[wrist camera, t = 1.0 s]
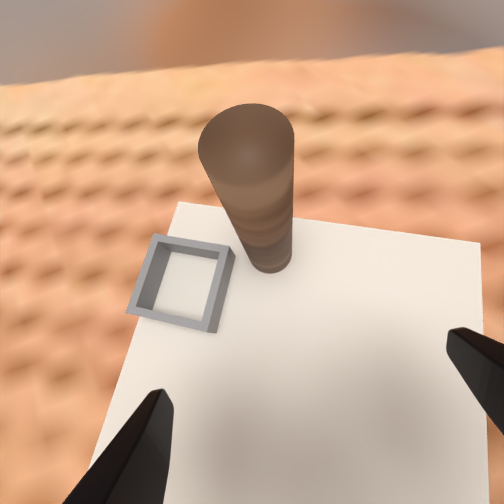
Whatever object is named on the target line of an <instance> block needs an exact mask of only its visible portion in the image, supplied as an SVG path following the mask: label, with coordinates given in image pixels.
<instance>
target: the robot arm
mask: <svg viewBox="0 0 504 504" xmlns="http://www.w3.org/2000/svg"><path fill="white" fill-rule="evenodd" d="M446 352H447V354H448V356H449V358H450V360H451V361H452V363H453V364H454V366H455V367H456V369H457V370H458V372H459V373H460V375H461V376H462V378H463V379H464V381H465V383H466V384H467V386H468V387H469V389H470V390H471V392H472V393H473V395H474V396H475V398H476V399H477V401H478V402H479V404H480V405H481V407H482V408H483V409H484V411H485V412H486V413H487V414H488V416H489V417H490V418H491V420H492V421H493V422H494V423H495V425H496V426H497V427H498V428H499V430H500V431H501V432H502V434H503V435H504V344H502V343H500V342H498V341H496V340H493V339H491V338H489V337H487V336H484V335H482V334H480V333H477V332H475V331H473V330H471V329H468V328H466V327H458V328H453V329H450V330H449V331H448V334H447V343H446ZM173 419H174V406H173V403H172V401H171V399H170V397H169V396H168V394H167V392H166V391H165V389H163V388H161V389H156V390H152V391H150V392H149V393H148V395H147V396H146V397H145V398H144V400H143V401H142V402H141V403H140V405H139V406H138V407H137V409H136V410H135V411H134V412H133V414H132V415H131V416H130V418H129V419H128V420H127V421H126V423H125V424H124V425H123V426H122V428H121V429H120V430H119V432H118V433H117V434H116V435H115V437H114V438H113V439H112V441H111V442H110V443H109V444H108V446H107V447H106V448H105V449H104V451H103V452H102V453H101V455H100V456H99V457H98V458H97V460H96V461H95V462H94V464H93V465H92V466H91V467H90V469H89V470H88V471H87V472H86V474H85V475H84V476H83V478H82V479H81V480H80V481H79V483H78V484H77V485H76V487H75V488H74V489H73V490H72V492H71V493H70V494H69V495H68V497H67V498H66V499H65V501H64V502H63V503H62V504H163V502H164V496H165V490H166V484H167V478H168V472H169V466H170V456H171V444H172V431H173Z"/></svg>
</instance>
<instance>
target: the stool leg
mask: <svg viewBox="0 0 504 504" xmlns="http://www.w3.org/2000/svg"><path fill="white" fill-rule="evenodd" d="M198 154H199V158H200V161H201V163H202V165H203V167H204V169H205V171H206V173H207V175H208V177H209V179H210V181H211V183H212V185H213V187H214V189H215V191H216V193H217V195H218V197H219V199H220V201H221V203H222V205H223V207H224V209H225V211H226V213H227V215H228V217H229V219H230V221H231V223H232V225H233V227H234V229H235V232H236V234H237V236H238V238H239V240H240V242H241V244H242V246H243V248H244V250H245V252H246V254H247V256H248V258H249V260H250V262H251V264H252V265H253V266H254V267H255V268H256V269H257V270H258V271H260V272H263V273H267V274H272V273H277V272H280V271H281V270H283V269H284V268H285V267H286V266H287V265H288V264H289V262H290V260H291V257H292V226H293V178H294V132H293V128H292V125H291V123H290V122H289V120H288V119H287V118H286V116H284V115H283V114H282V113H281V112H280V111H278V110H276V109H274V108H272V107H270V106H267V105H262V104H242V105H237V106H234V107H231V108H229V109H226V110H224V111H223V112H221V113H219V114H218V115H216V116H215V117H214V118H213V119H212V120H211V121H210V122H209V123H208V124H207V125H206V127H205V128H204V130H203V131H202V133H201V136H200V139H199V143H198Z"/></svg>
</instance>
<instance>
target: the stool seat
mask: <svg viewBox="0 0 504 504" xmlns="http://www.w3.org/2000/svg"><path fill="white" fill-rule="evenodd" d="M126 313H128V314H132V315H137V316H140V317H139V320H138V323H137V326H136V329H135V332H134V335H133V338H132V341H131V344H130V347H129V350H128V353H127V356H126V359H125V362H124V365H123V368H122V371H121V374H120V377H119V380H118V383H117V386H116V389H115V391H114V394H113V397H112V400H111V403H110V406H109V409H108V412H107V415H106V418H105V421H104V424H103V427H102V430H101V433H100V436H99V439H98V442H97V445H96V448H95V451H94V454H93V457H92V460H91V463H90V466H89V469H90V467H91V466H92V465H93V464H94V462H95V461H96V460H97V458H98V457H99V456H100V455H101V453H102V452H103V451H104V449H105V448H106V447H107V446H108V444H109V443H110V442H111V441H112V439H113V438H114V437H115V435H116V434H117V433H118V432H119V430H120V429H121V428H122V426H123V425H124V424H125V423H126V421H127V420H128V419H129V418H130V416H131V415H132V414H133V412H134V411H135V410H136V409H137V407H138V406H139V405H140V403H141V402H142V401H143V400H144V398H145V397H146V396H147V395H148V393H149V392H150V391H152V390H156V389H161V388H163V389H165V391H166V392H167V394H168V396H169V397H170V399H171V401H172V403H173V406H174V419H173V431H172V444H171V456H170V466H169V472H168V478H167V484H166V490H165V496H164V502H163V504H489V477H488V449H487V421H486V412H485V411H484V409H483V408H482V407H481V405H480V404H479V402H478V401H477V399H476V398H475V396H474V395H473V393H472V392H471V390H470V389H469V387H468V386H467V384H466V383H465V381H464V379H463V378H462V376H461V375H460V373H459V372H458V370H457V369H456V367H455V366H454V364H453V363H452V361H451V360H450V358H449V356H448V354H447V352H446V343H447V334H448V331H449V330H450V329H453V328H458V327H466V328H468V329H471V330H473V331H475V332H477V333H480V334H482V335H483V310H482V282H481V255H480V243H476V242H469V241H462V240H454V239H447V238H440V237H433V236H425V235H418V234H411V233H404V232H396V231H389V230H382V229H375V228H367V227H360V226H353V225H346V224H338V223H331V222H324V221H317V220H309V219H302V218H295V217H293V226H292V257H291V260H290V262H289V264H288V265H287V266H286V267H285V268H284V269H283V270H281V271H280V272H277V273H272V274H267V273H263V272H260V271H258V270H257V269H256V268H255V267H254V266H253V265H252V264H251V262H250V260H249V258H248V256H247V254H246V252H245V250H244V248H243V246H242V244H241V242H240V240H239V238H238V236H237V234H236V232H235V229H234V227H233V225H232V223H231V221H230V219H229V217H228V215H227V213H226V211H225V209H224V208H222V207H215V206H208V205H201V204H193V203H186V202H178V205H177V208H176V211H175V214H174V217H173V220H172V222H171V225H170V228H169V231H168V234H167V235H161V234H155V233H154V234H153V237H152V240H151V243H150V245H149V248H148V251H147V254H146V257H145V260H144V262H143V265H142V268H141V271H140V274H139V277H138V279H137V282H136V285H135V288H134V291H133V293H132V296H131V299H130V302H129V305H128V308H127V310H126ZM89 469H88V470H89Z"/></svg>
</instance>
